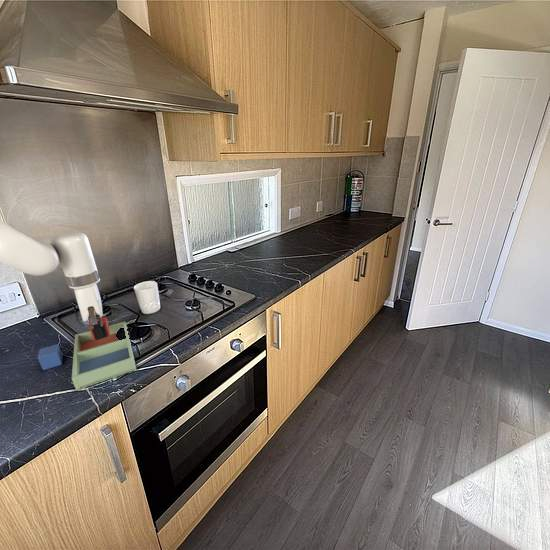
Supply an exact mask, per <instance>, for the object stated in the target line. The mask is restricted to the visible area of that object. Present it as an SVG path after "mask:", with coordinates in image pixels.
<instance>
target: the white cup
mask: <svg viewBox="0 0 550 550" xmlns="http://www.w3.org/2000/svg"><path fill="white" fill-rule="evenodd" d="M133 290H134V294H135V297H136V300H137V303H138V306H139V309H140V311H141V313H142V314H144V315H150V314H154V313H156V312H158V311H160V309H161V301H160V292H159V287H158V283H157V281H154V280H147V281H142V282H139V283H137V284H135V285H134V286H133Z"/></svg>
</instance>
